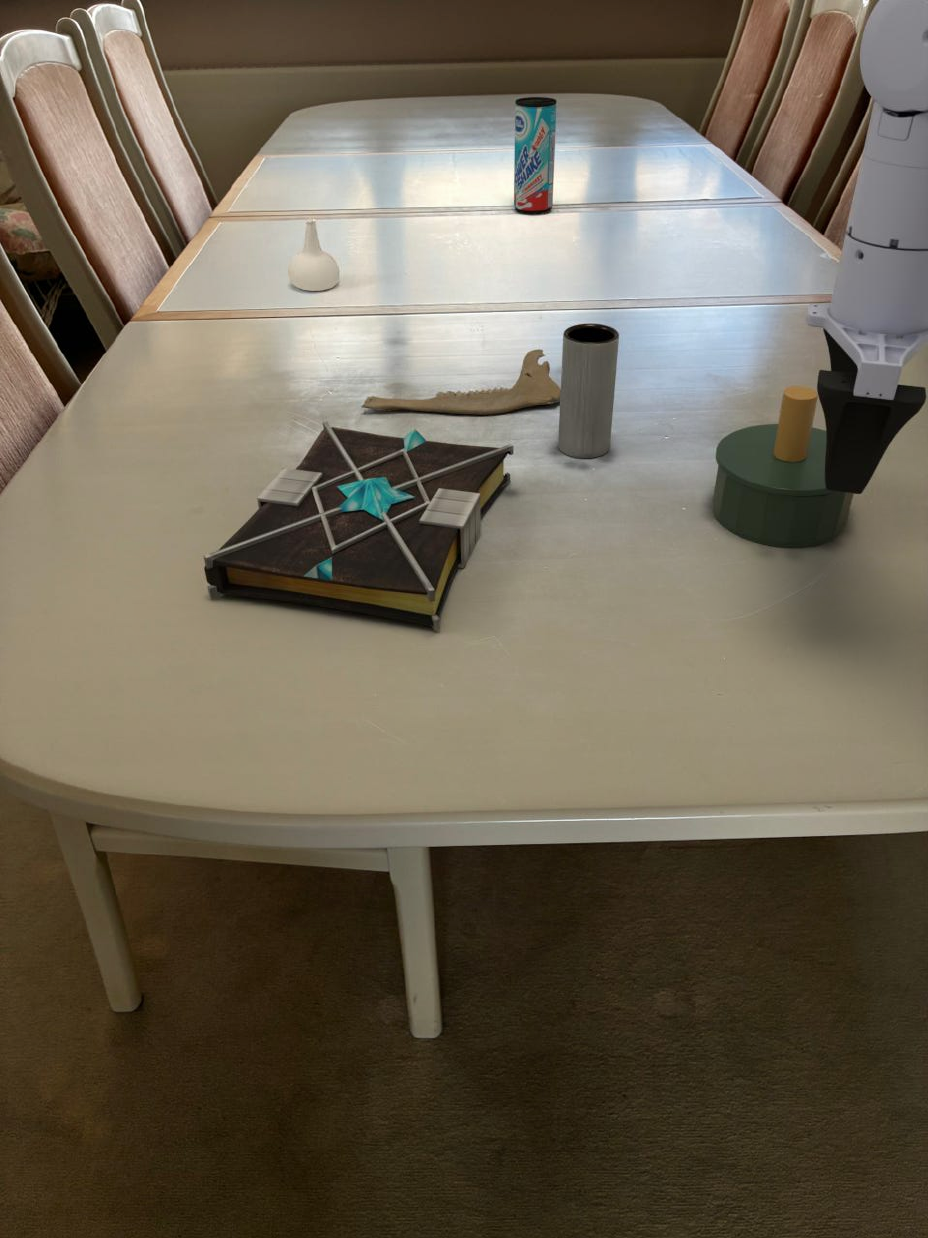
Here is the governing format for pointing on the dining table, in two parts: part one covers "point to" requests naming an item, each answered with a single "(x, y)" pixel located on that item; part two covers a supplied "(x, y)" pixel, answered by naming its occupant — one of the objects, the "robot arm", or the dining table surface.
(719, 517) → the tin
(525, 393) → the jawbone
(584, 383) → the planter
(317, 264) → the garlic bulb
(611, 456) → the dining table surface
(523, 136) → the beverage can
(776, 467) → the lid
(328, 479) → the book
